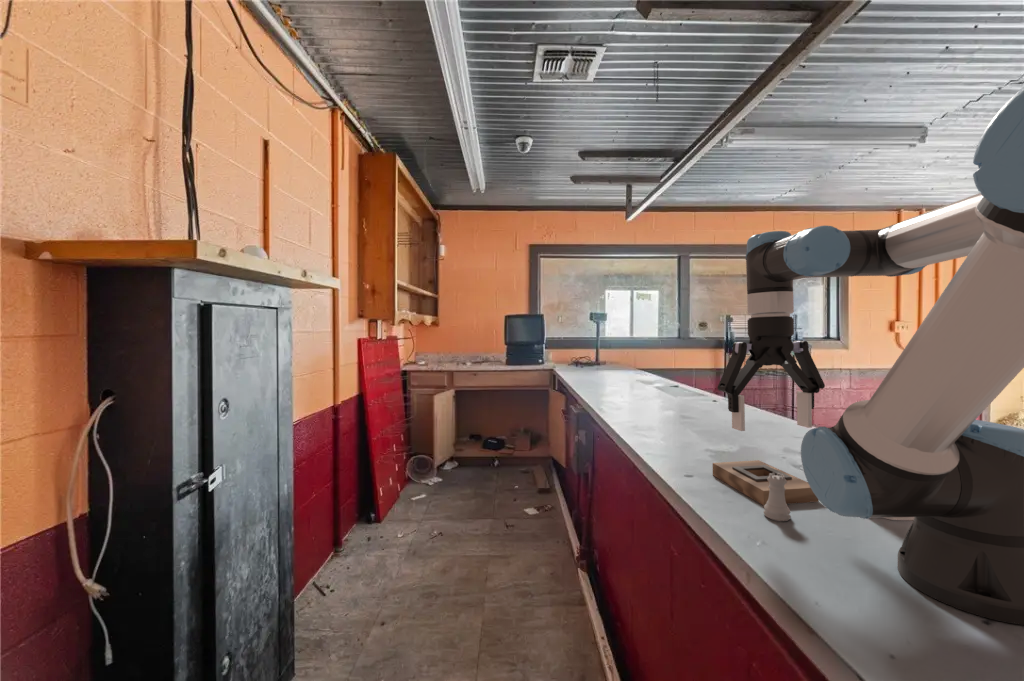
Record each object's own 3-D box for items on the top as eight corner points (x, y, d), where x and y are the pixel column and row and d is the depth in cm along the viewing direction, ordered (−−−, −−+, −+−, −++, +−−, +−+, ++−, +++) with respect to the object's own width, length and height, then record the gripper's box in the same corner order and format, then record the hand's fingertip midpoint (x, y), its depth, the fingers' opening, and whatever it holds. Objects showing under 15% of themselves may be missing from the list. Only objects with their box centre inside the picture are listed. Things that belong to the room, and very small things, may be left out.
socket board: (818, 501, 88) (818, 484, 87) (763, 505, 86) (763, 488, 86) (758, 472, 105) (758, 458, 105) (712, 475, 104) (712, 460, 104)
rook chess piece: (795, 523, 79) (795, 479, 78) (768, 521, 79) (768, 478, 79) (785, 512, 83) (784, 471, 83) (759, 511, 84) (759, 470, 84)
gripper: (813, 316, 87) (815, 421, 87) (697, 318, 84) (699, 426, 84) (847, 314, 79) (848, 429, 79) (720, 316, 76) (722, 435, 76)
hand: (771, 428), depth 82 cm, fingers open, 13 cm apart
